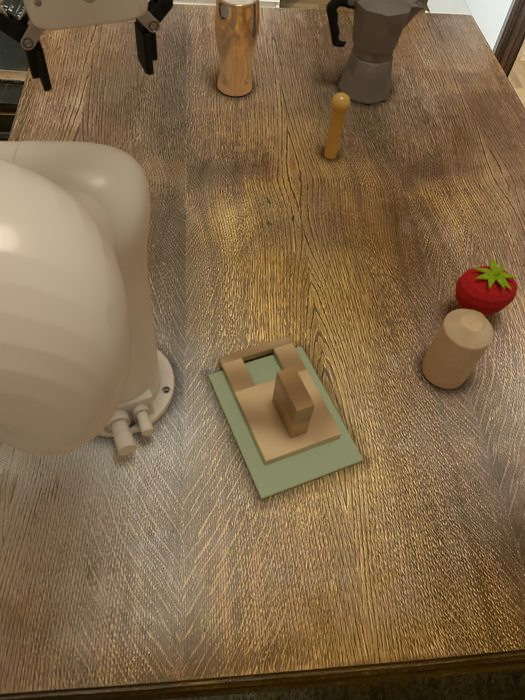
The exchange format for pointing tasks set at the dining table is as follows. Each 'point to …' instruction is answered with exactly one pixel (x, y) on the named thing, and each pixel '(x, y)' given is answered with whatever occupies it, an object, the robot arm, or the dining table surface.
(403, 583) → the dining table surface
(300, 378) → the wooden board with handle
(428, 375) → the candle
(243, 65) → the beer glass
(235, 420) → the mat
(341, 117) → the wooden peg
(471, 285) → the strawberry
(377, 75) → the coffeepot
